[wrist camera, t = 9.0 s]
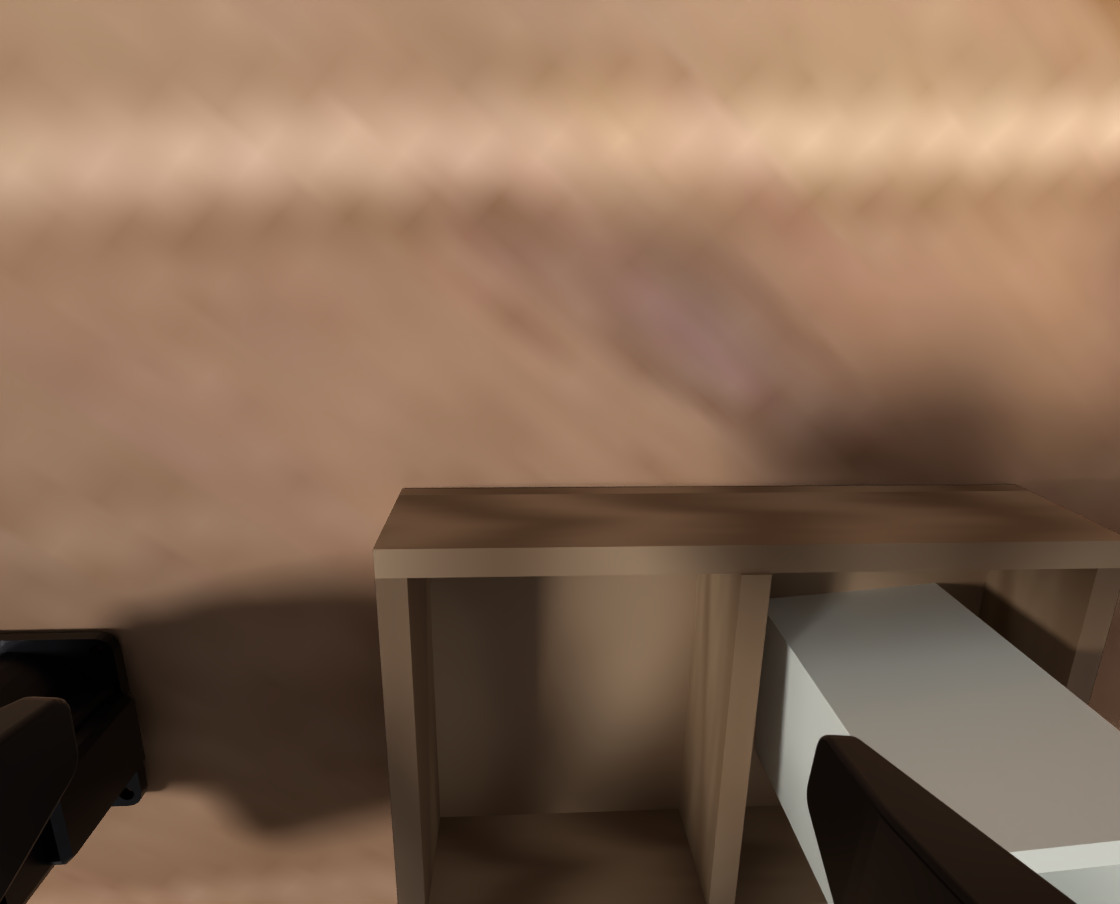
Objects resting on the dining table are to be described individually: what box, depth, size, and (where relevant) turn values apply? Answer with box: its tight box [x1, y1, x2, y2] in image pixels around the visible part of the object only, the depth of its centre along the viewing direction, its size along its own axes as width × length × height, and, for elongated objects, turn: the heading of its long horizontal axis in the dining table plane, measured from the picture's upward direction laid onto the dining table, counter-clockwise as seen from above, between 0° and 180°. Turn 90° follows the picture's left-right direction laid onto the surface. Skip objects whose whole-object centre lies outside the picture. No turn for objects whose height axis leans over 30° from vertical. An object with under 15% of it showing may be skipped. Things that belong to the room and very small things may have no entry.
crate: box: [373, 485, 1120, 904], centre depth 22 cm, size 20×13×5 cm, turn 89°
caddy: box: [756, 583, 1120, 904], centre depth 19 cm, size 6×6×10 cm
